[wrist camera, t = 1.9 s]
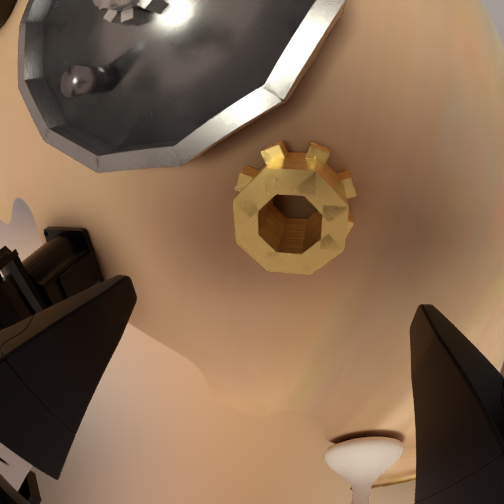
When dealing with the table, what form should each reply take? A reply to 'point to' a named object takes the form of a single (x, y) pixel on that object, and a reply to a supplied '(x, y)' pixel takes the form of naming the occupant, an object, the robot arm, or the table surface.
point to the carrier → (161, 72)
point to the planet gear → (292, 229)
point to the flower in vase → (363, 462)
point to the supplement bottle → (5, 9)
